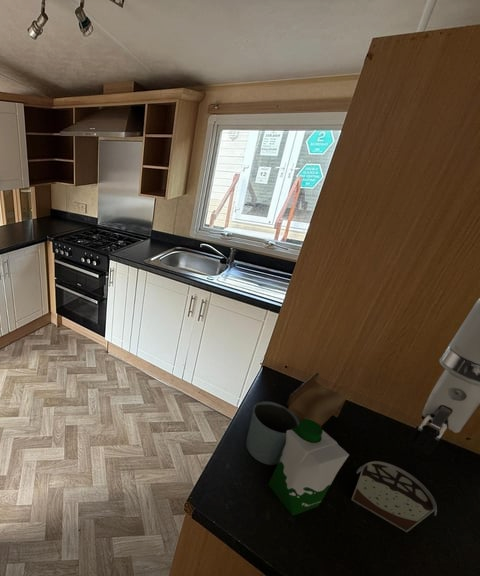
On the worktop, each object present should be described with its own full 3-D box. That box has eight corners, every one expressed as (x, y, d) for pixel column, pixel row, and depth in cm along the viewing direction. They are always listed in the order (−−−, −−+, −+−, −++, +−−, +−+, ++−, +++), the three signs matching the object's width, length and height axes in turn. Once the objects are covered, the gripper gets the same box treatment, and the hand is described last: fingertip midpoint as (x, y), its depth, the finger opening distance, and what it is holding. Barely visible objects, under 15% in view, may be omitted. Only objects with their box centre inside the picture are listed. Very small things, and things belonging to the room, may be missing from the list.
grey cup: (237, 450, 81) (247, 418, 75) (249, 426, 88) (259, 394, 82) (280, 476, 75) (295, 442, 70) (290, 447, 82) (303, 414, 76)
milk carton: (291, 471, 76) (317, 413, 67) (325, 510, 68) (359, 450, 59) (261, 481, 74) (284, 422, 65) (292, 522, 66) (323, 461, 57)
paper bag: (338, 415, 91) (350, 390, 87) (313, 443, 83) (325, 416, 78) (306, 397, 98) (316, 372, 93) (280, 421, 89) (289, 395, 85)
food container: (416, 514, 67) (439, 485, 63) (416, 538, 63) (440, 509, 59) (347, 475, 75) (363, 448, 71) (343, 495, 71) (359, 467, 67)
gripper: (502, 401, 45) (441, 476, 52) (516, 358, 53) (462, 427, 61) (430, 371, 50) (385, 443, 58) (454, 336, 59) (412, 402, 67)
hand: (425, 435), depth 59 cm, fingers open, 9 cm apart
